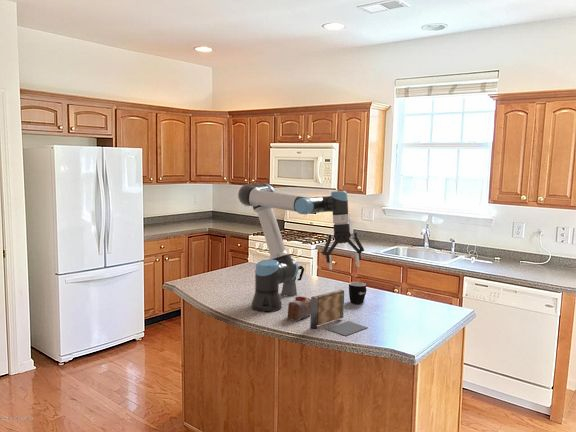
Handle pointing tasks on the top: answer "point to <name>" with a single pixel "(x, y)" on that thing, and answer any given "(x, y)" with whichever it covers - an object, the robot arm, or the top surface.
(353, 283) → the mug
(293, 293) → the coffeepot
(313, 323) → the gate post
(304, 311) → the food item
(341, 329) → the mat
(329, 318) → the gate
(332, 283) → the top surface
